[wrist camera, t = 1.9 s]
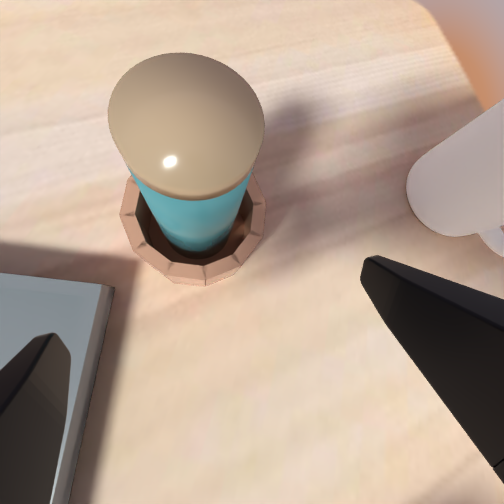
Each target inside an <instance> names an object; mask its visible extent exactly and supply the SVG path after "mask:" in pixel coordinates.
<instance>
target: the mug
mask: <svg viewBox="0 0 504 504" xmlns="http://www.w3.org/2000/svg"><path fill="white" fill-rule="evenodd" d="M406 190H407V197H408V201H409V204H410V206H411V208H412V210H413V212H414V213H415V215H416V216H417V218H418V219H419V220H420V221H421V222H422V223H423V224H424V225H425V226H427V227H428V228H430V229H431V230H433V231H435V232H437V233H439V234H442V235H446V236H452V237H459V236H466V235H471V234H474V233H478V234H479V235H480V237H481V239H482V240H483V241H484V242H485V244H486V245H487V246H488V247H489V248H490V249H491V250H492V251H494V252H495V253H497V254H498V255H500V256H502V257H503V258H504V233H503V231H502V229H501V228H500V226H504V99H502V100H501V101H500V102H498V103H497V104H495V105H494V106H492V107H491V108H490V109H488V110H487V111H485V112H484V113H482V114H481V115H480V116H478V117H477V118H475V119H474V120H472V121H471V122H470V123H468V124H467V125H465V126H464V127H462V128H461V129H460V130H458V131H457V132H455V133H454V134H452V135H451V136H450V137H448V138H447V139H445V140H444V141H442V142H441V143H440V144H438V145H437V146H435V147H434V148H433V149H431V150H430V151H428V152H427V153H426V154H424V155H423V156H422V157H421V158H420V159H418V160H417V161H416V162H415V164H414V165H413V166H412V168H411V170H410V172H409V174H408V177H407V183H406Z"/></svg>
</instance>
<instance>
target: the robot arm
mask: <svg viewBox="0 0 504 504" xmlns="http://www.w3.org/2000/svg"><path fill="white" fill-rule="evenodd" d="M360 281H361V284H362V286H363V287H364V289H365V291H366V292H367V294H368V296H369V298H370V299H371V301H372V303H373V304H374V306H375V308H376V309H377V311H378V313H379V314H380V316H381V318H382V319H383V321H384V322H385V324H386V325H387V327H388V328H389V329H390V331H391V332H392V333H393V335H394V336H395V338H396V339H397V340H398V342H399V343H400V344H401V346H402V347H403V348H404V350H405V351H406V352H407V354H408V355H409V356H410V358H411V359H412V360H413V362H414V363H415V364H416V366H417V367H418V369H419V370H420V371H421V373H422V374H423V375H424V377H425V378H426V379H427V381H428V382H429V383H430V385H431V386H432V387H433V389H434V390H435V391H436V393H437V394H438V395H439V397H440V398H441V400H442V401H443V402H444V404H445V405H446V406H447V408H448V409H449V410H450V412H451V413H452V414H453V416H454V417H455V418H456V420H457V421H458V422H459V424H460V425H461V427H462V428H463V429H464V431H465V432H466V433H467V435H468V436H469V437H470V439H471V440H472V441H473V443H474V444H475V445H476V447H477V448H478V449H479V451H480V452H481V453H482V455H483V456H484V458H485V459H486V460H487V462H488V463H489V464H490V466H491V467H493V470H494V471H495V473H496V474H497V475H498V477H499V478H500V479H501V481H502V482H503V483H504V299H501V298H498V297H495V296H492V295H489V294H487V293H484V292H481V291H478V290H475V289H472V288H470V287H467V286H464V285H461V284H458V283H455V282H453V281H450V280H447V279H444V278H441V277H438V276H436V275H433V274H430V273H427V272H424V271H422V270H419V269H416V268H413V267H410V266H407V265H405V264H402V263H399V262H396V261H393V260H390V259H388V258H385V257H382V256H379V255H376V256H371V257H368V258H366V259H365V260H364V263H363V267H362V272H361V276H360ZM70 370H71V354H70V351H69V350H68V348H67V347H66V345H65V344H64V343H63V341H62V340H61V338H60V337H59V336H58V334H56V333H54V332H51V333H47V334H43V335H38V336H36V337H34V338H33V339H32V340H31V341H30V342H29V343H28V344H27V345H26V346H25V347H24V348H23V349H21V350H20V351H19V352H18V353H17V354H16V355H15V356H14V357H13V358H12V359H11V360H10V361H9V362H8V363H7V364H6V365H5V366H4V367H3V368H2V369H1V370H0V504H50V501H51V496H52V491H53V486H54V480H55V475H56V470H57V465H58V460H59V455H60V450H61V445H62V440H63V435H64V430H65V424H66V417H67V408H68V395H69V382H70Z"/></svg>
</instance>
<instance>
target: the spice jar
mask: <svg viewBox="0 0 504 504" xmlns="http://www.w3.org/2000/svg"><path fill="white" fill-rule="evenodd" d="M108 123H109V129H110V132H111V135H112V138H113V140H114V142H115V144H116V146H117V148H118V150H119V152H120V154H121V156H122V157H123V159H124V161H125V163H126V165H127V167H128V169H129V170H130V172H131V174H132V176H133V178H134V180H135V182H136V184H137V185H138V187H139V189H140V191H141V193H142V195H143V197H144V198H145V200H146V202H147V204H148V206H149V208H150V210H151V212H152V213H153V215H154V217H155V219H156V221H157V223H158V225H159V226H160V228H161V230H162V232H163V234H164V236H165V238H166V240H167V241H168V243H169V245H170V246H171V247H172V249H173V250H174V251H176V252H177V253H178V254H180V255H182V256H184V257H186V258H190V259H206V258H209V257H212V256H214V255H215V254H217V253H218V252H220V251H221V250H222V249H223V248H224V246H225V245H226V243H227V241H228V239H229V236H230V233H231V230H232V227H233V225H234V222H235V219H236V216H237V213H238V210H239V207H240V205H241V202H242V199H243V196H244V193H245V190H246V187H247V184H248V182H249V179H250V176H251V173H252V170H253V167H254V164H255V162H256V159H257V156H258V153H259V150H260V147H261V144H262V141H263V137H264V127H265V123H264V115H263V111H262V107H261V105H260V102H259V100H258V98H257V96H256V94H255V92H254V91H253V89H252V88H251V87H250V85H249V84H248V83H247V82H246V81H245V80H244V79H243V78H242V77H241V76H240V75H239V74H238V73H237V72H235V71H234V70H233V69H231V68H230V67H228V66H226V65H225V64H223V63H221V62H219V61H216V60H214V59H212V58H209V57H205V56H202V55H197V54H192V53H169V54H162V55H158V56H154V57H151V58H149V59H146V60H144V61H142V62H140V63H138V64H137V65H135V66H134V67H132V68H131V69H130V70H129V71H127V72H126V73H125V74H124V75H123V76H122V78H121V79H120V80H119V82H118V83H117V84H116V86H115V88H114V90H113V92H112V95H111V98H110V101H109V107H108Z"/></svg>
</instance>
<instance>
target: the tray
mask: <svg viewBox="0 0 504 504" xmlns="http://www.w3.org/2000/svg"><path fill="white" fill-rule="evenodd" d="M114 289H115V287H110V286H106V285H102V284H94V283H85V282H77V281H68V280H59V279H50V278H42V277H33V276H24V275H15V274H7V273H0V370H1V369H2V368H3V367H4V366H5V365H6V364H7V363H8V362H9V361H10V360H11V359H12V358H13V357H14V356H15V355H16V354H17V353H18V352H19V351H20V350H21V349H23V348H24V347H25V346H26V345H27V344H28V343H29V342H30V341H31V340H32V339H33V338H34V337H36V336H38V335H43V334H47V333H51V332H54V333H56V334H58V336H59V337H60V338H61V340H62V341H63V343H64V344H65V345H66V347H67V348H68V350H69V351H70V354H71V370H70V382H69V395H68V408H67V417H66V424H65V430H64V435H63V440H62V445H61V450H60V455H59V460H58V465H57V470H56V475H55V480H54V486H53V491H52V496H51V501H50V504H68V502H69V497H70V492H71V488H72V483H73V478H74V474H75V469H76V465H77V460H78V455H79V451H80V446H81V442H82V437H83V432H84V428H85V423H86V418H87V414H88V409H89V405H90V400H91V395H92V391H93V386H94V382H95V377H96V372H97V368H98V363H99V358H100V354H101V349H102V345H103V340H104V335H105V331H106V326H107V321H108V317H109V312H110V308H111V303H112V298H113V294H114Z"/></svg>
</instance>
